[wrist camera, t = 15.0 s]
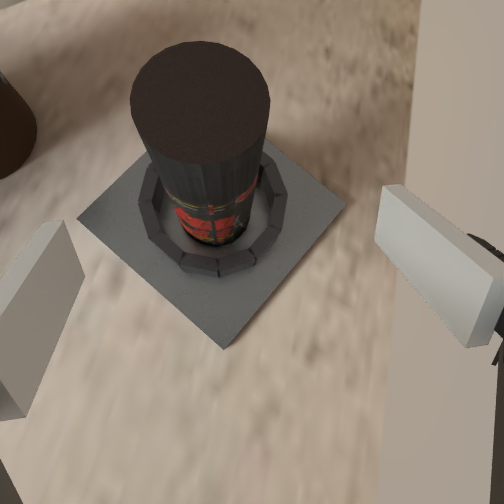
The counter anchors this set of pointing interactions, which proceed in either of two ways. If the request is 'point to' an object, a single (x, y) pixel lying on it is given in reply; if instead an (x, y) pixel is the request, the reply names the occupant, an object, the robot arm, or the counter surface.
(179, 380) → the counter surface
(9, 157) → the olive oil
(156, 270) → the duct flange
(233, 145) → the deodorant
